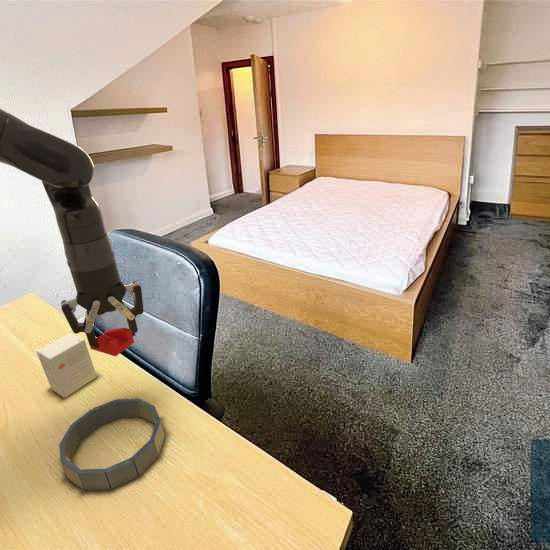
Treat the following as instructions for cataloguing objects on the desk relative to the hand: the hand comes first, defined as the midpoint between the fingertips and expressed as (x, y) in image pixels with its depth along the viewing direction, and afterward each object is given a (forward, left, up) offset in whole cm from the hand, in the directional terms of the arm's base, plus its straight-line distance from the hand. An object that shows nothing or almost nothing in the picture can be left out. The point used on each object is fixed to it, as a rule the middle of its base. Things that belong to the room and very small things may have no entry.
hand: (114, 340), depth 79 cm
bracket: (-1, 0, -1) cm, 1 cm away
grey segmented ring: (-5, -12, -15) cm, 20 cm away
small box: (-10, +12, -15) cm, 22 cm away
